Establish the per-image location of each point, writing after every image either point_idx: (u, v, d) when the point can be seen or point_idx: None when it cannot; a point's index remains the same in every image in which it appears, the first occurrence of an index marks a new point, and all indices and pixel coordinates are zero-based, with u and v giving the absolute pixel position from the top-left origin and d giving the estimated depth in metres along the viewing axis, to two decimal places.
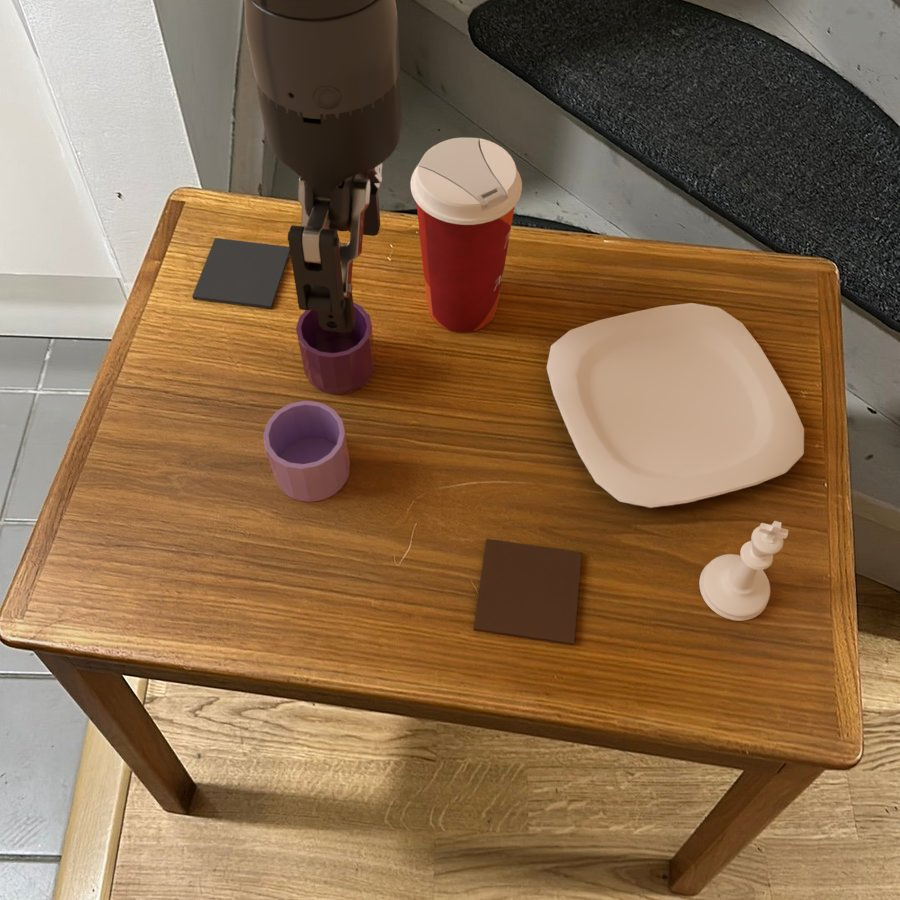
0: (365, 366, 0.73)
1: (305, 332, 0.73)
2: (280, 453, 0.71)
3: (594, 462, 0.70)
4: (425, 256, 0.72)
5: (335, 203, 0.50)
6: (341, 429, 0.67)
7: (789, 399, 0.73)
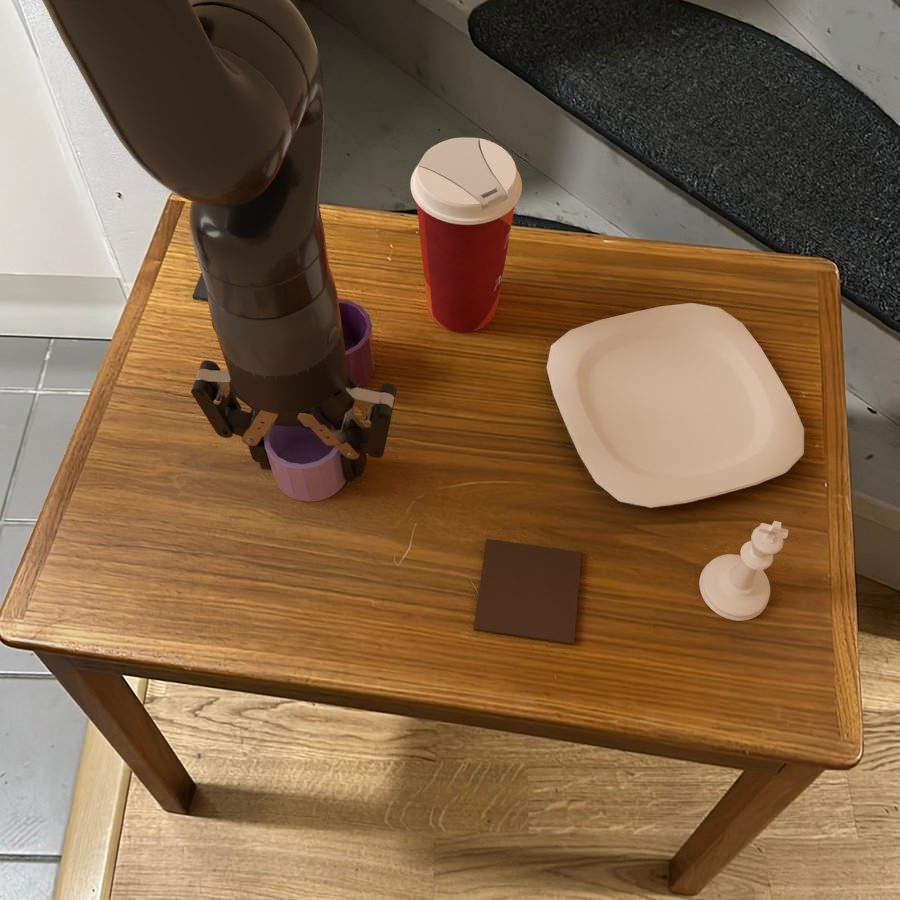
0: (365, 366, 0.73)
1: None
2: (280, 453, 0.71)
3: (594, 462, 0.69)
4: (425, 256, 0.72)
5: (231, 382, 0.61)
6: None
7: (789, 399, 0.73)
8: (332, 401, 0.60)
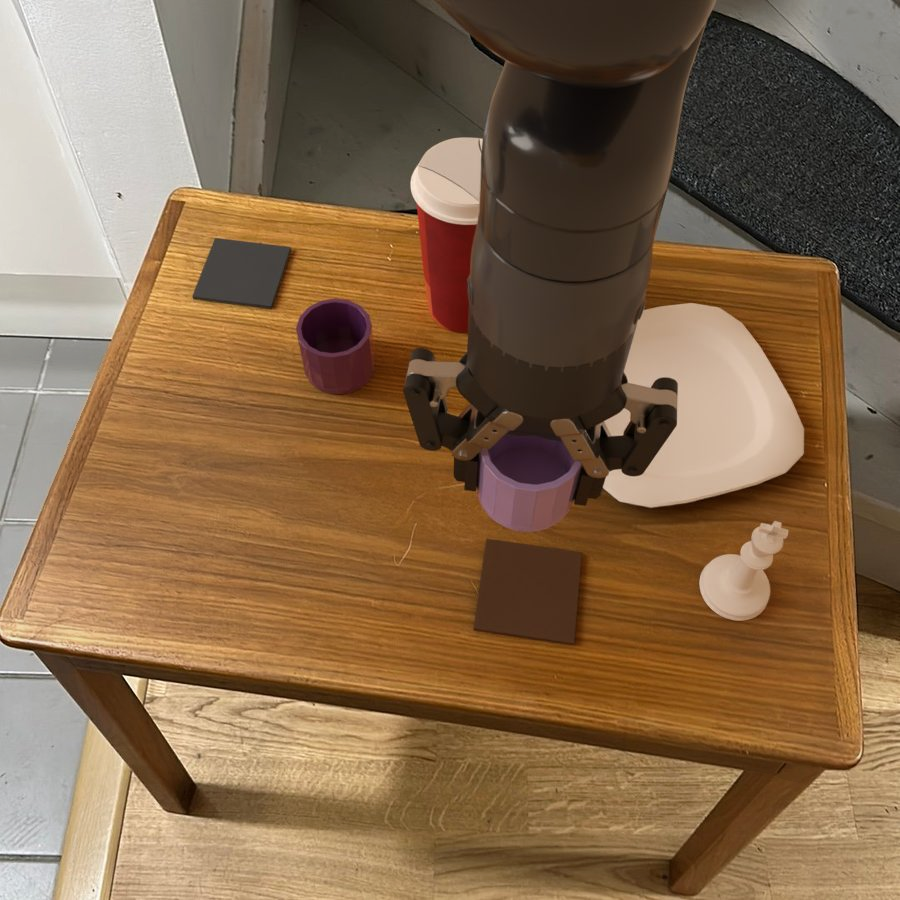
0: (365, 366, 0.73)
1: (305, 332, 0.73)
2: None
3: None
4: (425, 256, 0.72)
5: (461, 377, 0.45)
6: None
7: (789, 399, 0.73)
8: None
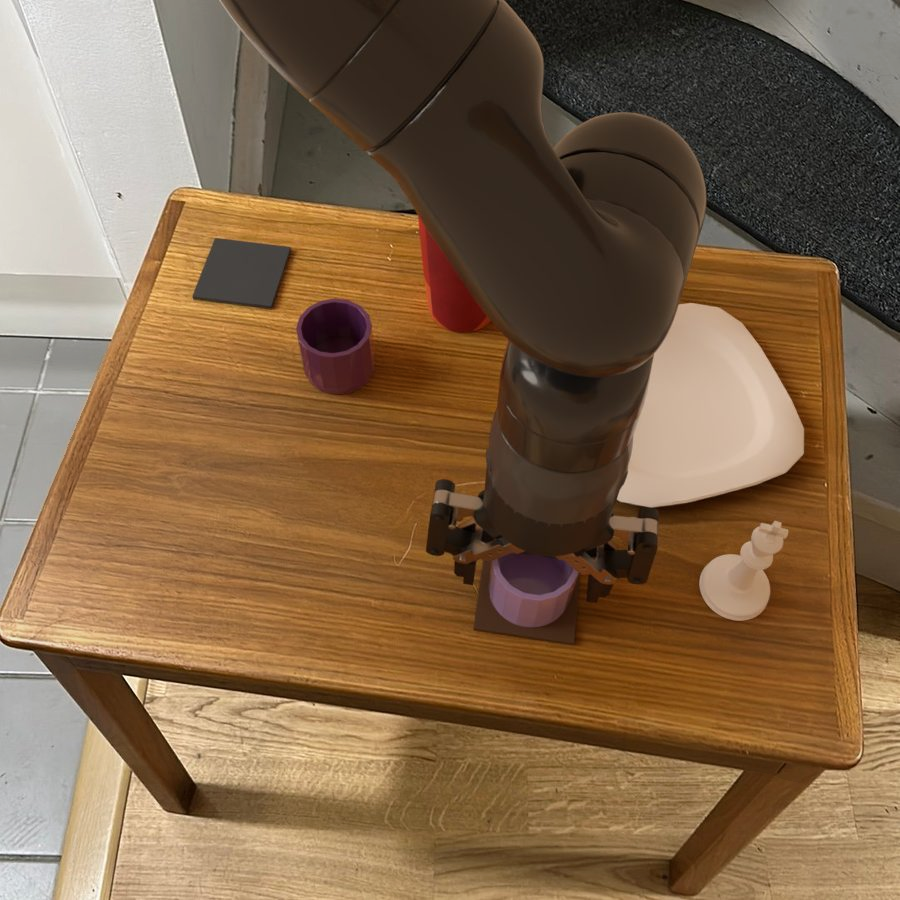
0: (365, 366, 0.73)
1: (305, 332, 0.73)
2: None
3: None
4: (425, 256, 0.72)
5: (478, 513, 0.55)
6: None
7: (789, 399, 0.73)
8: None
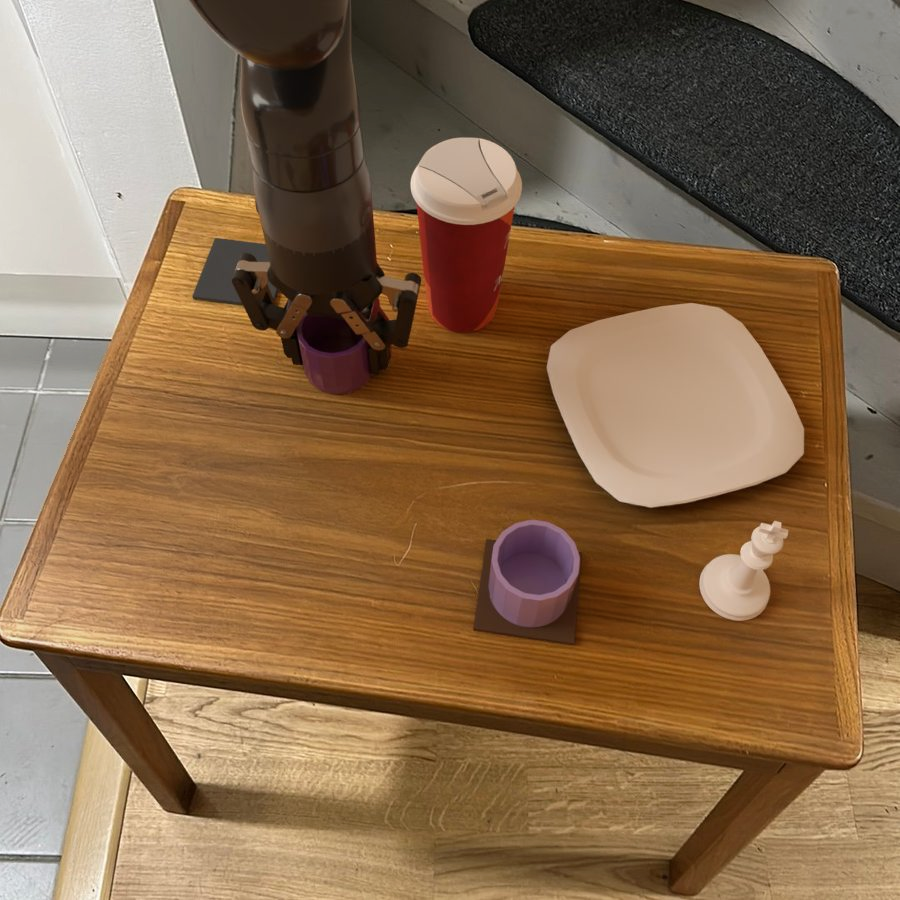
0: (365, 366, 0.73)
1: (305, 332, 0.73)
2: None
3: (594, 462, 0.69)
4: (425, 256, 0.72)
5: (269, 271, 0.66)
6: (575, 553, 0.61)
7: (789, 399, 0.73)
8: (362, 287, 0.66)
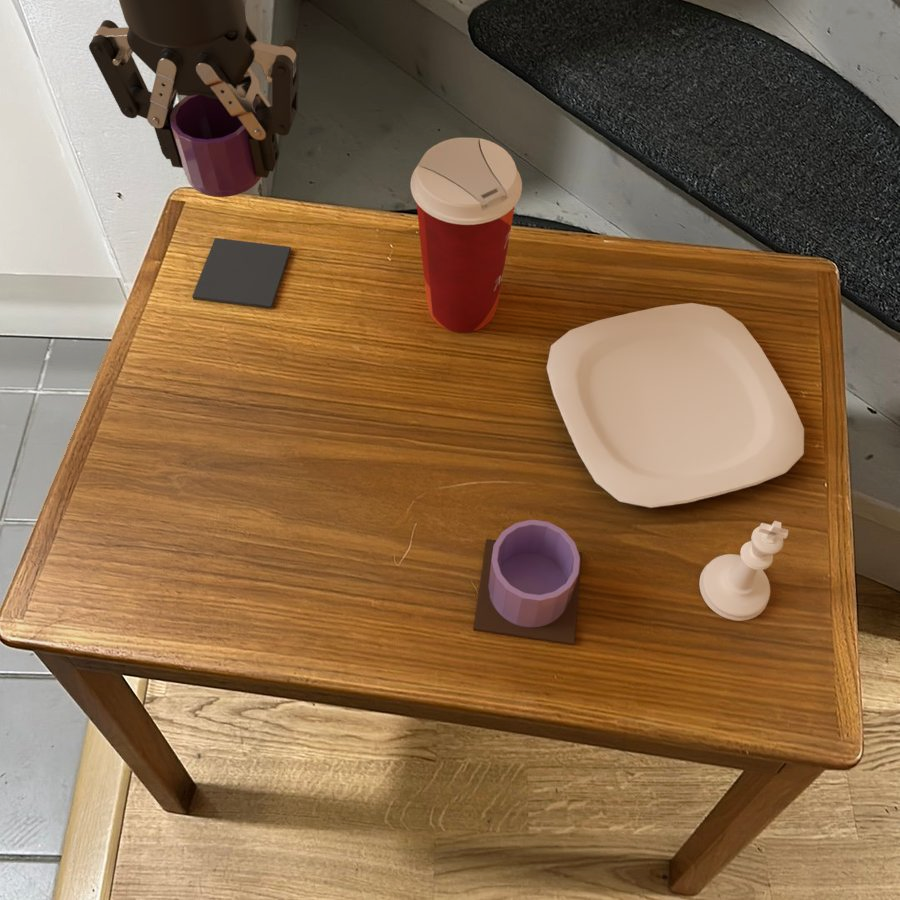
0: (248, 163, 0.67)
1: (183, 125, 0.67)
2: None
3: (594, 462, 0.70)
4: (425, 256, 0.72)
5: (128, 33, 0.60)
6: (575, 553, 0.61)
7: (789, 399, 0.73)
8: (230, 49, 0.59)
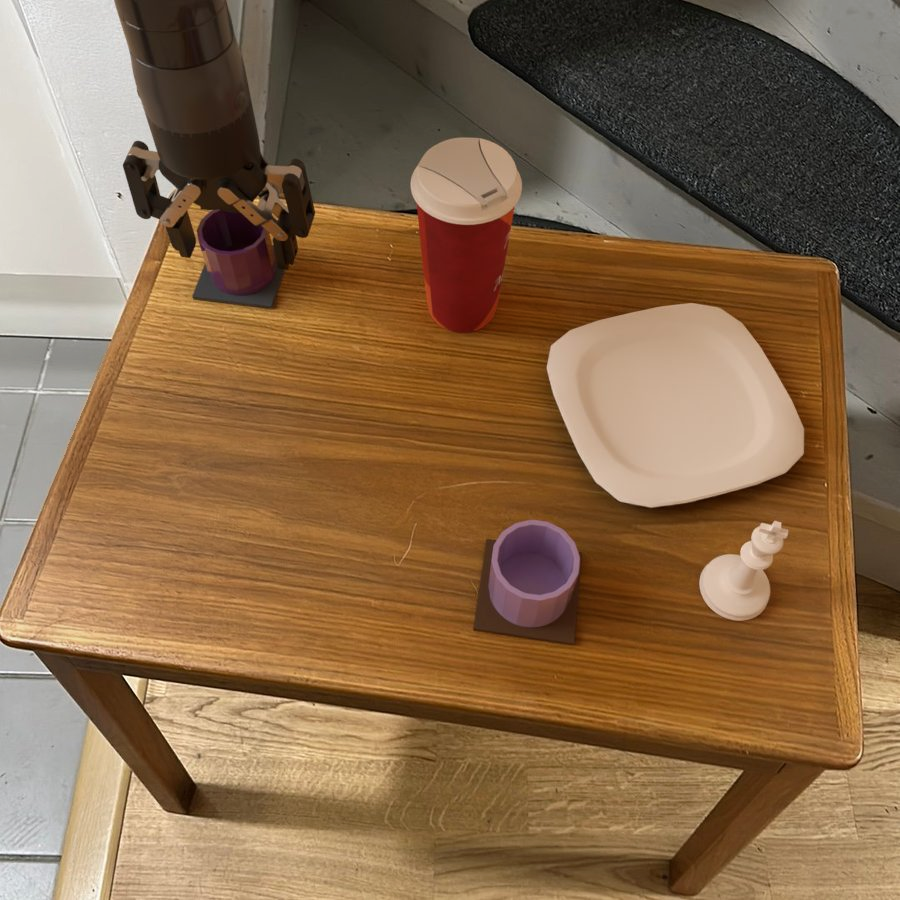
0: (263, 267, 0.78)
1: (207, 235, 0.78)
2: None
3: (594, 462, 0.69)
4: (425, 256, 0.72)
5: (160, 162, 0.70)
6: (575, 553, 0.61)
7: (789, 399, 0.73)
8: (247, 176, 0.70)
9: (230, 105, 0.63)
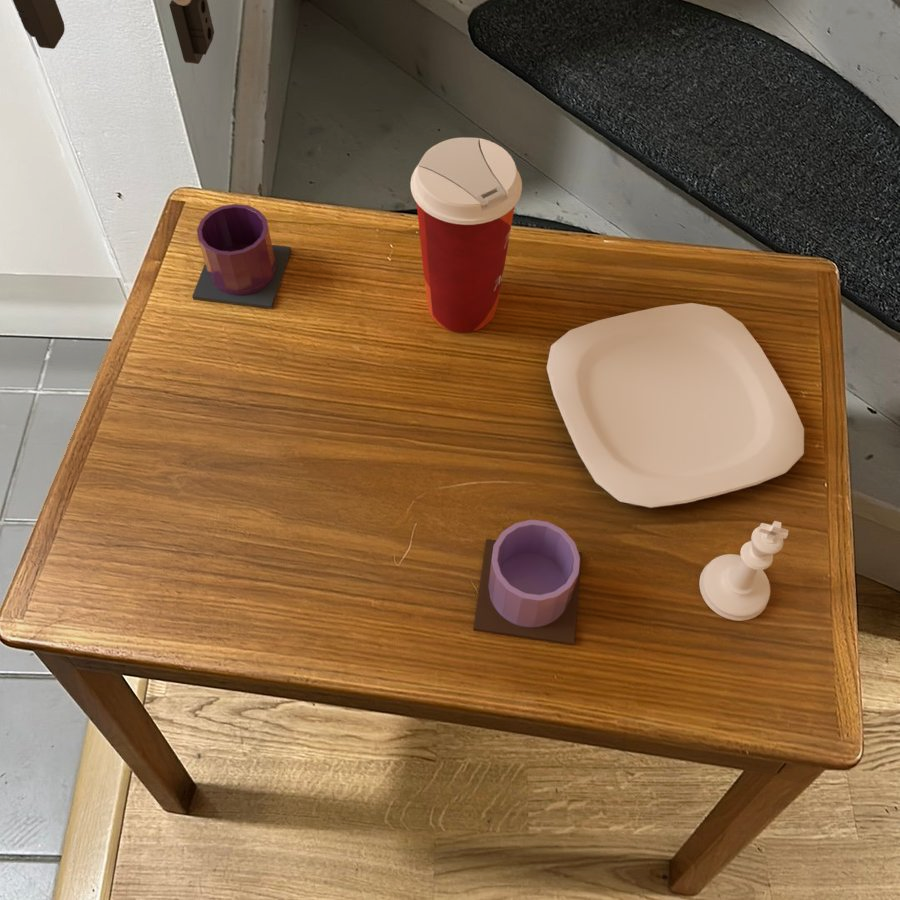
0: (263, 267, 0.78)
1: (207, 235, 0.78)
2: None
3: (594, 462, 0.70)
4: (425, 256, 0.72)
5: None
6: (575, 553, 0.61)
7: (789, 399, 0.73)
8: None
9: None
